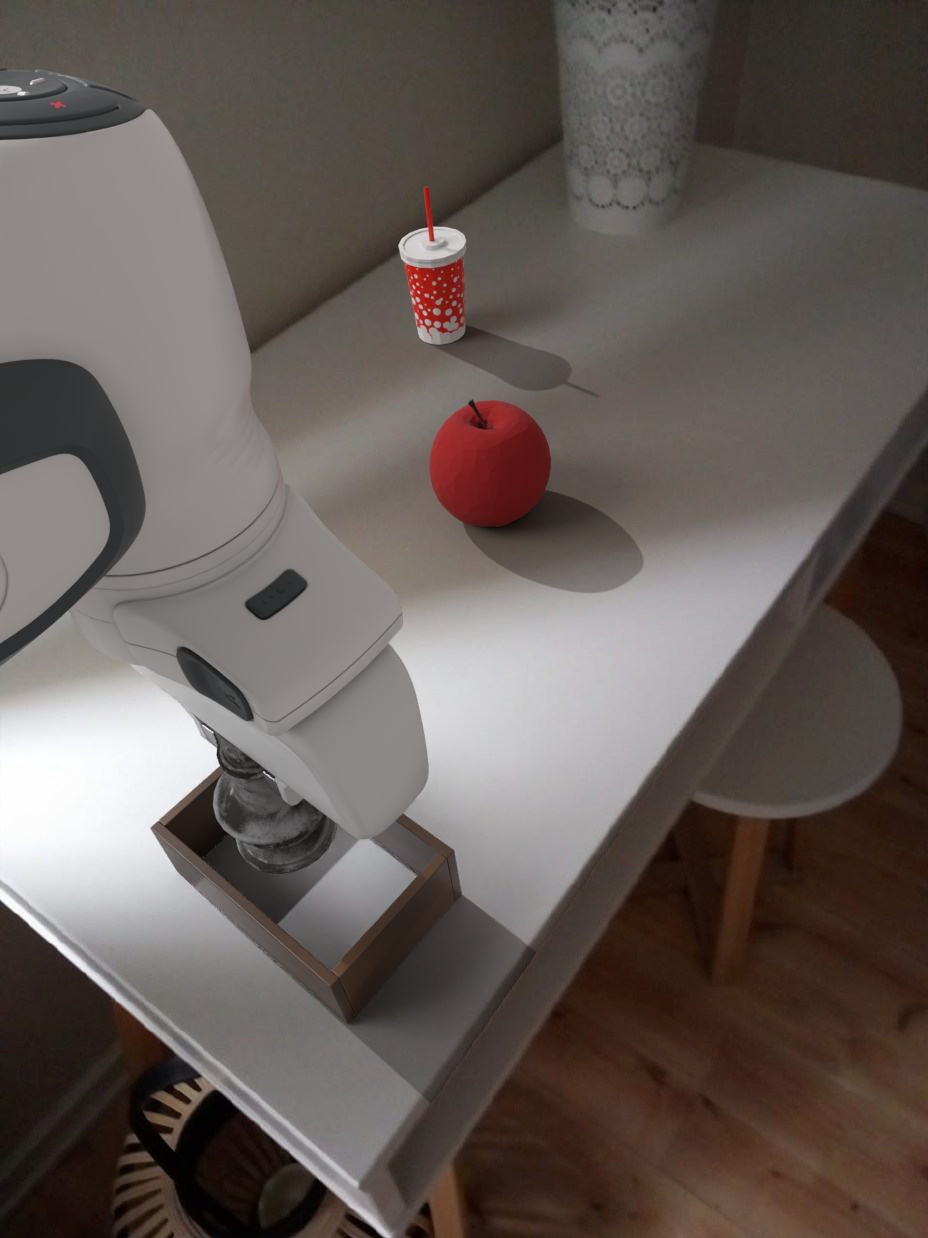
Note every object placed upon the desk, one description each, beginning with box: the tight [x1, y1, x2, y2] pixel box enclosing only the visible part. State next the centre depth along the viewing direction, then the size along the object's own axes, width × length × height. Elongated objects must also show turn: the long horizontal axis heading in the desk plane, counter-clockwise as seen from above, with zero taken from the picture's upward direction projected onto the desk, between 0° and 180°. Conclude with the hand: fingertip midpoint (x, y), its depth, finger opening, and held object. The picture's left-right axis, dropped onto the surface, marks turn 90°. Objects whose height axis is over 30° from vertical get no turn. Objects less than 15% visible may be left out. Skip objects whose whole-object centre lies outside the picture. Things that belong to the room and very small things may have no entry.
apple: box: [428, 398, 552, 528], centre depth 72 cm, size 9×9×10 cm
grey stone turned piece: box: [213, 729, 338, 875], centre depth 46 cm, size 6×6×12 cm
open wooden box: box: [150, 765, 463, 1025], centre depth 54 cm, size 9×14×5 cm, turn 50°
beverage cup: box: [397, 185, 467, 346], centre depth 89 cm, size 6×6×14 cm
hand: (260, 762), depth 46 cm, fingers closed on grey stone turned piece, 3 cm apart
